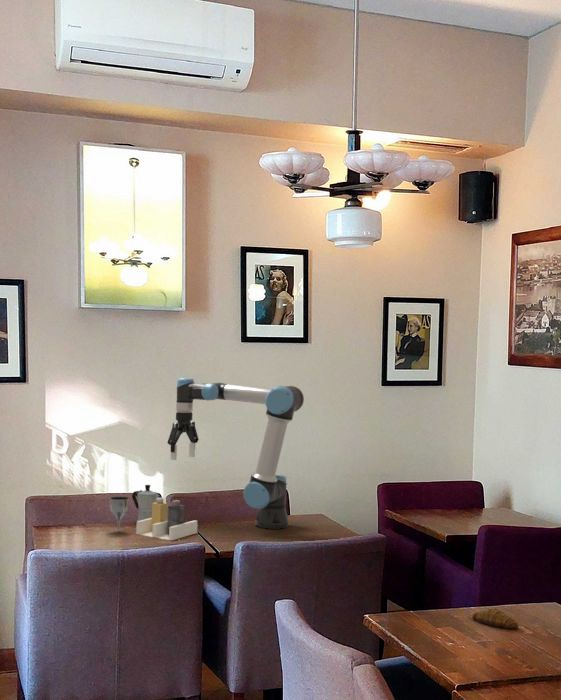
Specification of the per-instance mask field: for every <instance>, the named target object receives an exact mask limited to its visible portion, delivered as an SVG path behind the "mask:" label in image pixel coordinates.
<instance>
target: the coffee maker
mask: <svg viewBox="0 0 561 700" xmlns="http://www.w3.org/2000/svg"><path fill="white" fill-rule="evenodd" d="M144 486H145V490H143V489H141V490H136V491H133V493H132V495H131V497H132V498H131V499H132V500H133V502H134V506H135V507H136V509H139V511H138V517H137V521H140V520H144V519H149V518H152V503H156V498H159V495H158V492H157V491H156V492H155V491H153V490H150V488H151V484H145V485H144Z"/></svg>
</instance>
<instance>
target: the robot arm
mask: <svg viewBox="0 0 561 700" xmlns="http://www.w3.org/2000/svg"><path fill="white" fill-rule="evenodd" d="M176 384H177V385H176V405H175V410H176V413H175V420H176V421H177V422H173V423H172V428H171V430H170V433H169V436H168V438H167V439H168V440H167V444H168V445H169V446H170V460H173V461H174V460H175V461H177V456H178V455H177V454H178V452H177V451H178V449H177V448H178V445H177V442H178V440H179V439H180V437H181V436H182V434H184V433H186V436H187V437H188V439H189V441H190V442H189V443H188V444H189V445H188V457H190V458H195V455H196V454H195V453H196V444H197V443H198V442H199V441H200V439H199V436H198V432H197V429H196V428H197V427H196V423H195V421H193V414H194V413H193V408H194V407H193V406H194V405H193V404H194V400H199V401H200V400H201V401H215V400H223V401H234V402H243V403H250V404H251V403H252V404H259V405H265V407H266V413H265V414H266V416H267V423H266V424H267V425H266V429H265V432H264V436H263V441H262V443H261V449H260V452H259V453H260V454H259V457H258V462H257V465H256V469H255V471H254V472H251V476H250V479H249V483H247V484H246V486H245V487H244V489H243V499H244V500H245V502H246V504H247V505H248V506H249V507H250V508H253V509H259V510H258V512H257V516H256V518H255V524H256V525H257V526H259V527H258V528H260V527H262V529H266V528H268V529H269V530H280V528H282V529H286V528H285V527H287V528H289V527H288V526H290V520H289V517H288V513H287V509H286V504H287V503H286V502H287V484H288V483H287V477H286V476H285V475H281V474H278V475H277V474H276V473H277V468H278V465H279V460H280V456H281V451H282V448H283V444H284V440H285V435H286V431H287V427H288V423H290V422H292V421H293V418H294V413H295V412H298V411H299V410H300V409H301V408H302V406H303V404H304V401H305V400H304V399H305V396H304V394H303V392H302V390H301V389H300V388H299V387H297V386H293V385H289V386H287V385H286V386H283V385H280V386H276V387H266V386H265V387H263V386H262V387H261V386H252V385H243V384H233V383H224V382H215V383H214V382H213V383H212V382H210V383H209V382H205V383H204V382H202V383H199V382H195V380H194V379H193V378H189V377H185V378H184V377H180V378H178V379H177V383H176ZM256 525H255V526H256ZM257 526H256V527H257Z"/></svg>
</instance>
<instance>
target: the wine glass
mask: <svg viewBox="0 0 561 700" xmlns="http://www.w3.org/2000/svg"><path fill="white" fill-rule="evenodd" d="M129 505H130V497H129V496H124V495H121V496H120V495H118V496H117V495H115V496H110V497H109V509H110V511H111V514H113V516H114V517H115V519H116V522H117V530H116V533H120V532H121V530H120V524H121V521H122V518H123V517H124V516H125V514H126V513H127V512H128V510H129Z"/></svg>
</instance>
